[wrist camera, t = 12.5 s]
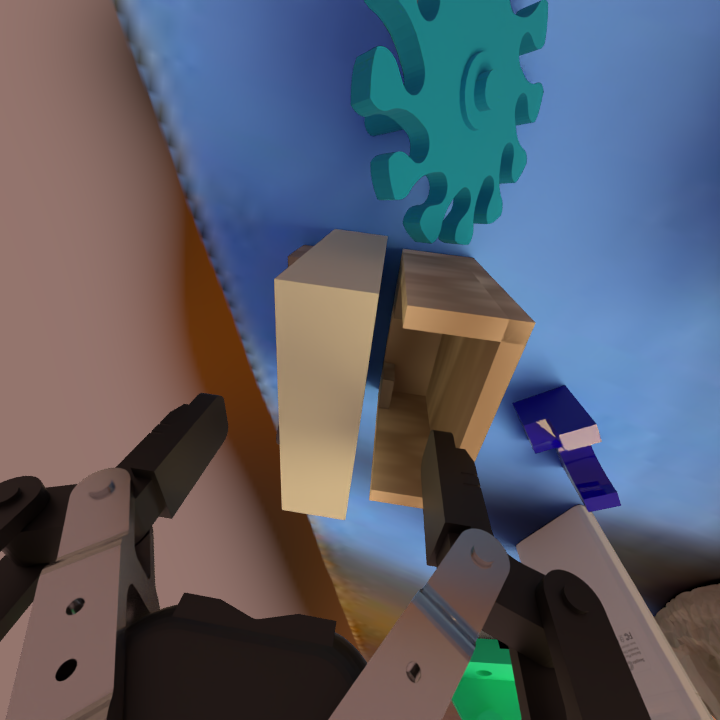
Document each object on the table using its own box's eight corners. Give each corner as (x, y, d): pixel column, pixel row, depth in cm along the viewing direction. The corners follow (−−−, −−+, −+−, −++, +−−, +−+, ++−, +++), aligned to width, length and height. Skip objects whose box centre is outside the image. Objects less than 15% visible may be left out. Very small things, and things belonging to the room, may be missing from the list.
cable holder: (511, 401, 22) (532, 442, 19) (564, 384, 21) (596, 424, 18) (542, 471, 25) (564, 516, 22) (589, 459, 24) (621, 505, 21)
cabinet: (473, 258, 17) (535, 322, 10) (432, 397, 22) (451, 513, 15) (303, 235, 18) (231, 281, 10) (302, 378, 23) (254, 481, 15)
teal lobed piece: (531, 229, 15) (391, 275, 10) (434, 224, 19) (297, 255, 14) (603, -143, 10) (374, -492, 4) (446, -42, 14) (227, -161, 8)
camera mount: (525, 639, 41) (560, 764, 33) (521, 660, 45) (552, 778, 36) (434, 634, 44) (444, 750, 35) (438, 655, 47) (447, 764, 38)
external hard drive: (593, 509, 27) (722, 728, 16) (527, 551, 31) (595, 747, 20) (578, 503, 27) (699, 720, 16) (513, 545, 31) (576, 741, 20)
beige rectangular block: (387, 236, 17) (378, 294, 9) (364, 392, 23) (345, 520, 14) (317, 226, 17) (240, 274, 9) (311, 384, 23) (261, 506, 14)
